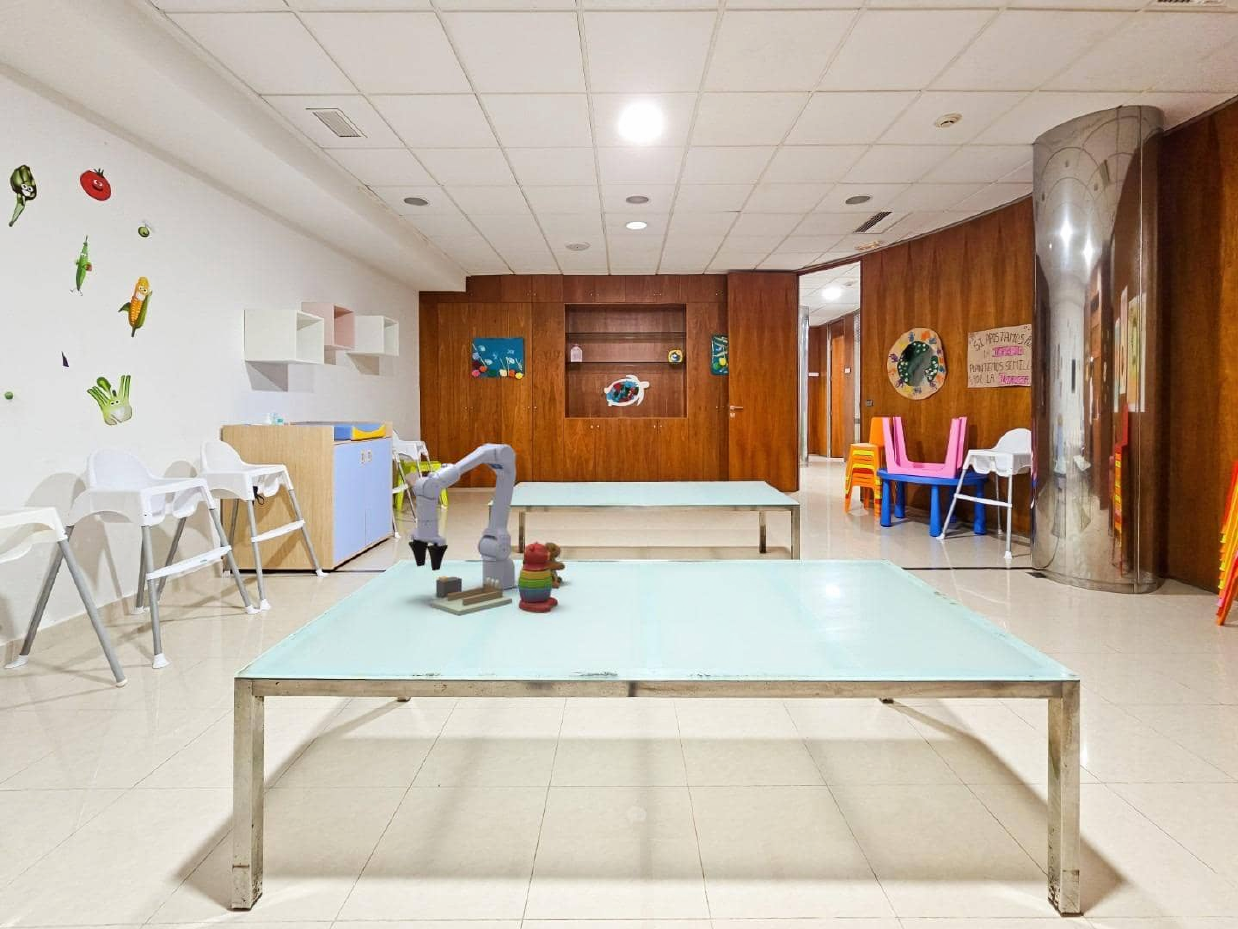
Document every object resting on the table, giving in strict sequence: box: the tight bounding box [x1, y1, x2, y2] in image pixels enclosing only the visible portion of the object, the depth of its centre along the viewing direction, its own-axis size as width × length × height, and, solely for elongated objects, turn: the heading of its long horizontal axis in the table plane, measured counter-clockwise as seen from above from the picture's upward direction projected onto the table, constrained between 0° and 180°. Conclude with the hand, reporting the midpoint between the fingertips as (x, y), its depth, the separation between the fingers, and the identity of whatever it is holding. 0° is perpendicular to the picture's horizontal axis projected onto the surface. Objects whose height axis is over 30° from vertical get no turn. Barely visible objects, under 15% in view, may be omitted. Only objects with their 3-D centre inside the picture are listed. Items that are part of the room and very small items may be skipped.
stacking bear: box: [517, 541, 559, 613], centre depth 193 cm, size 11×10×18 cm
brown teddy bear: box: [522, 542, 566, 589], centre depth 219 cm, size 10×14×13 cm
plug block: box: [435, 575, 463, 599], centre depth 204 cm, size 6×4×6 cm, turn 138°
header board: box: [428, 578, 513, 616], centre depth 195 cm, size 18×14×6 cm
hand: (428, 567), depth 197 cm, fingers open, 7 cm apart
